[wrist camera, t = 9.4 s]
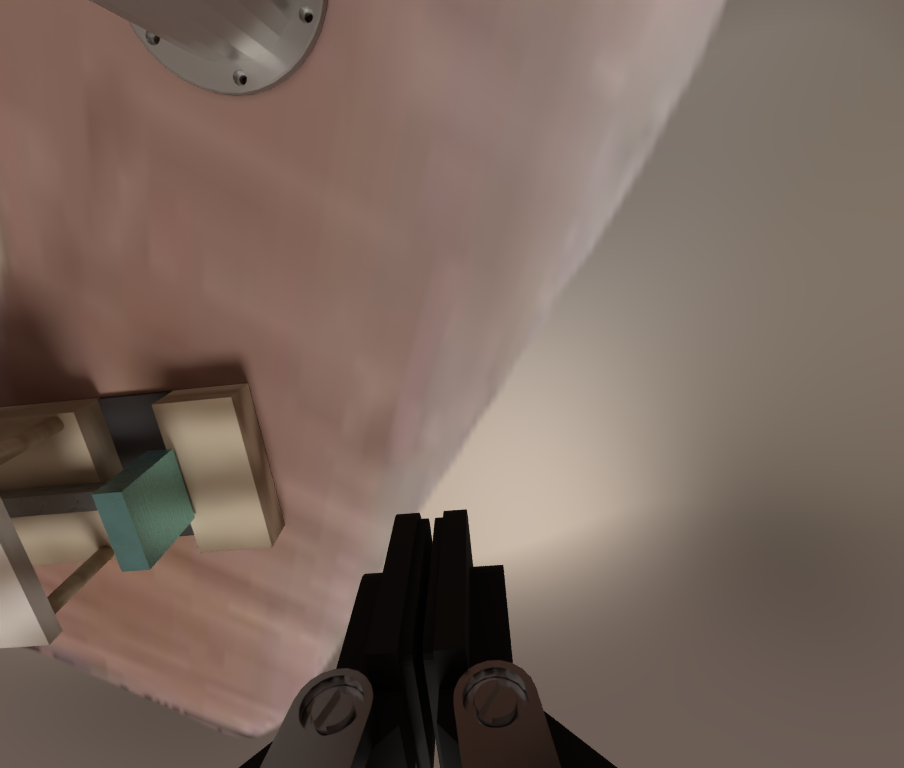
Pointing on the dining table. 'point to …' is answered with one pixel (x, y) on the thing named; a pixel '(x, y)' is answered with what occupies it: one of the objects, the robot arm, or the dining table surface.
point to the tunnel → (100, 459)
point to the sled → (121, 507)
